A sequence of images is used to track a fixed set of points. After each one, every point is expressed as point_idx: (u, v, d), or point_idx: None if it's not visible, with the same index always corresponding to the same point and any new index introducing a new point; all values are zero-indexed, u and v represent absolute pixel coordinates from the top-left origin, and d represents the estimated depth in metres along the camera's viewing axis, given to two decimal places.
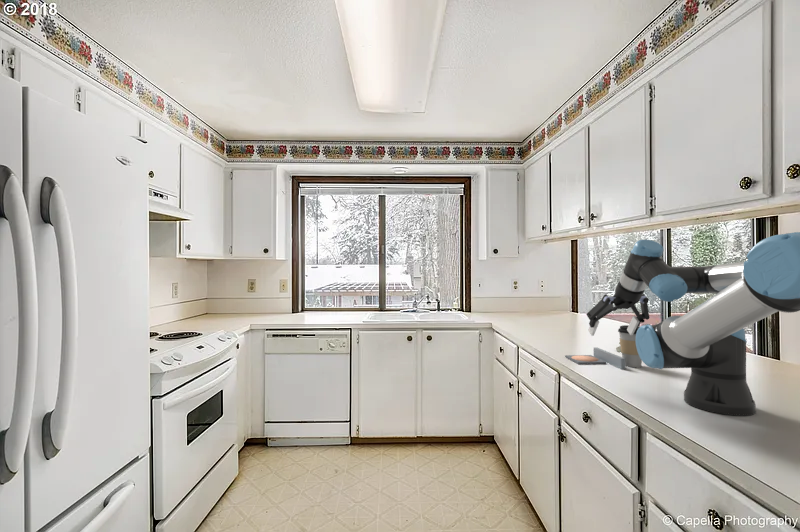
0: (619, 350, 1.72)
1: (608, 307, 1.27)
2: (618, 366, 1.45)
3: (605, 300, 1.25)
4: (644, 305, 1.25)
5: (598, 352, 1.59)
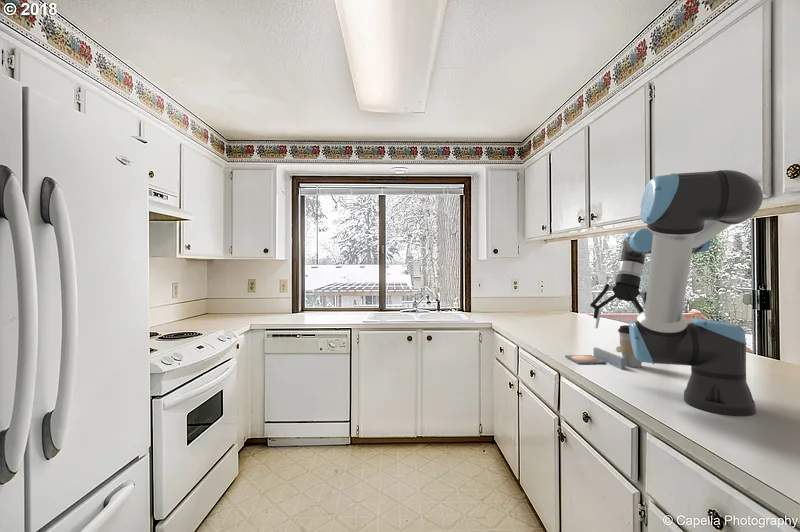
0: (619, 350, 1.72)
1: None
2: (618, 366, 1.45)
3: (604, 286, 1.39)
4: (645, 299, 1.33)
5: (598, 352, 1.59)
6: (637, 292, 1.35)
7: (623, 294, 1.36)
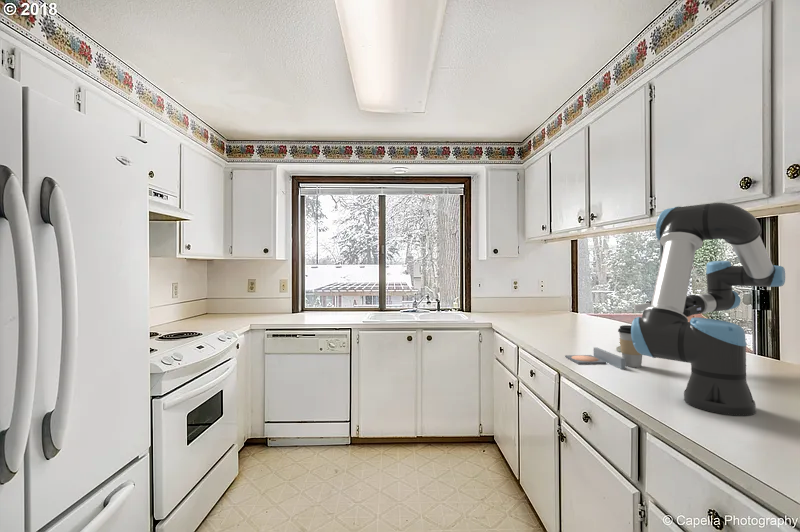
0: (619, 350, 1.72)
1: None
2: (618, 366, 1.45)
3: None
4: (693, 306, 1.43)
5: (598, 352, 1.59)
6: (691, 304, 1.46)
7: None
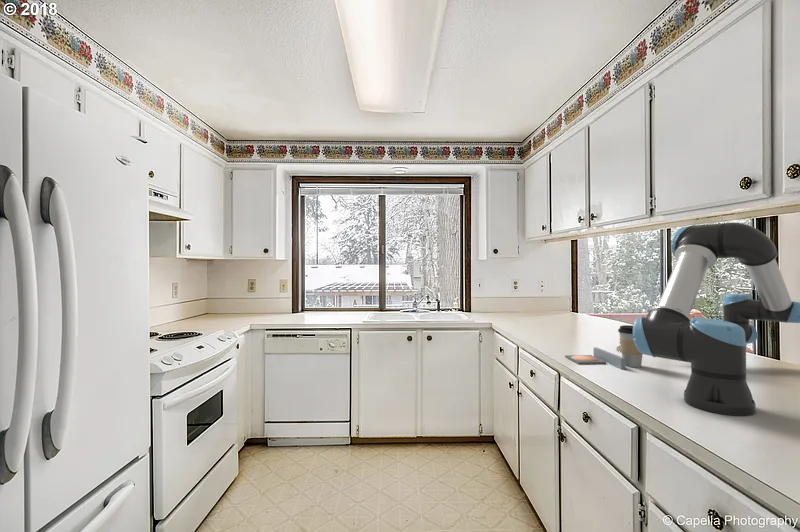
0: (619, 350, 1.73)
1: None
2: (618, 366, 1.45)
3: None
4: None
5: (598, 352, 1.59)
6: None
7: None
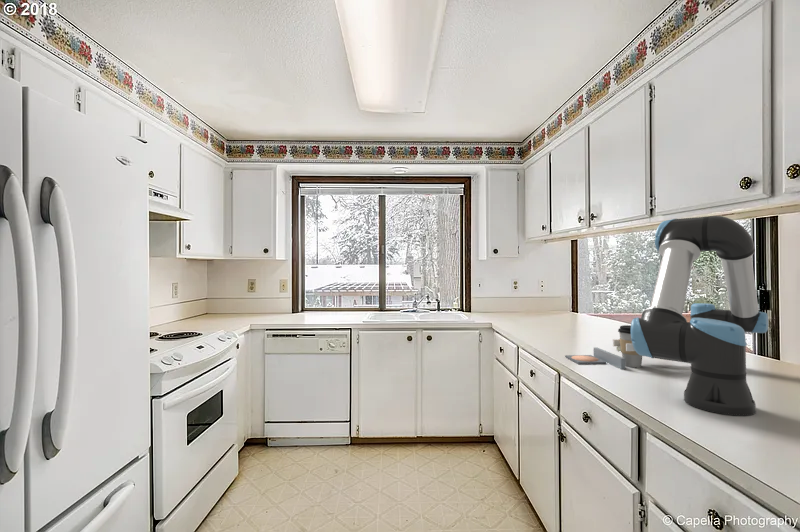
0: (619, 349, 1.73)
1: None
2: (618, 366, 1.45)
3: None
4: None
5: (598, 352, 1.59)
6: None
7: None
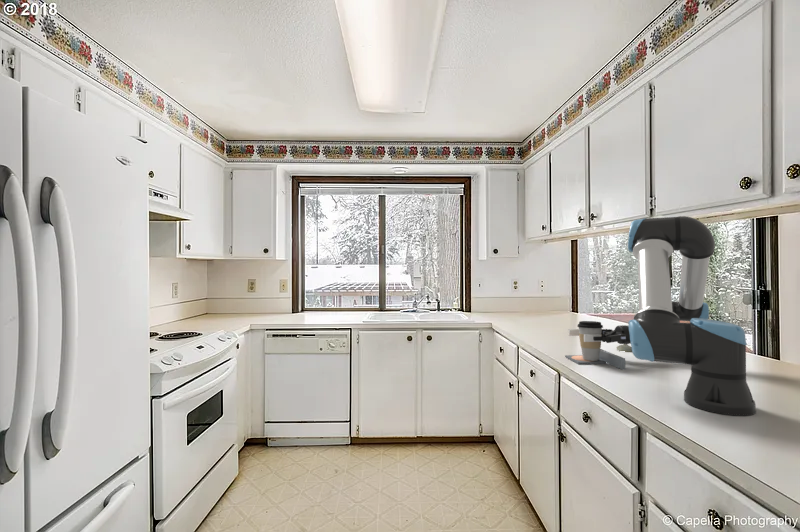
0: (619, 349, 1.74)
1: None
2: (618, 366, 1.45)
3: None
4: (618, 334, 1.51)
5: None
6: (619, 333, 1.54)
7: (609, 331, 1.58)
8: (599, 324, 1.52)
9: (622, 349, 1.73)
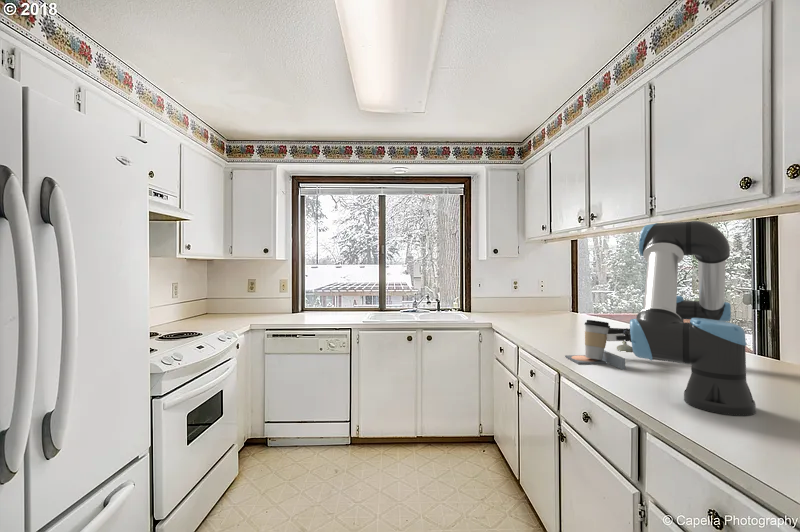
0: (619, 349, 1.75)
1: None
2: (618, 366, 1.45)
3: None
4: None
5: None
6: None
7: (630, 331, 1.59)
8: (607, 324, 1.52)
9: (622, 349, 1.74)
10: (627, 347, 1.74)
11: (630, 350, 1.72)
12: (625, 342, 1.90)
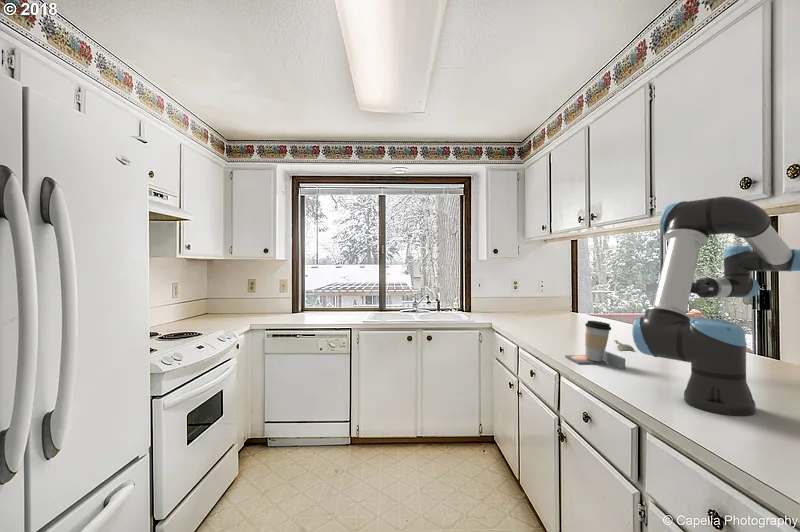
0: (621, 349, 1.75)
1: None
2: (618, 366, 1.45)
3: None
4: (705, 285, 1.40)
5: None
6: (704, 285, 1.43)
7: None
8: (608, 326, 1.50)
9: (624, 349, 1.74)
10: (628, 347, 1.74)
11: (632, 350, 1.73)
12: (617, 341, 1.92)
